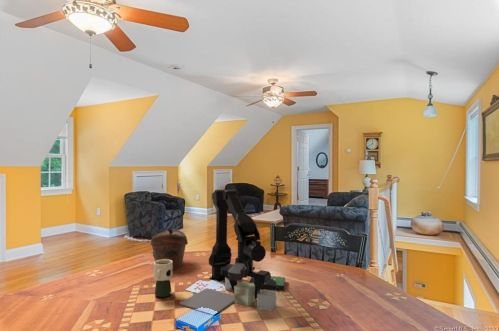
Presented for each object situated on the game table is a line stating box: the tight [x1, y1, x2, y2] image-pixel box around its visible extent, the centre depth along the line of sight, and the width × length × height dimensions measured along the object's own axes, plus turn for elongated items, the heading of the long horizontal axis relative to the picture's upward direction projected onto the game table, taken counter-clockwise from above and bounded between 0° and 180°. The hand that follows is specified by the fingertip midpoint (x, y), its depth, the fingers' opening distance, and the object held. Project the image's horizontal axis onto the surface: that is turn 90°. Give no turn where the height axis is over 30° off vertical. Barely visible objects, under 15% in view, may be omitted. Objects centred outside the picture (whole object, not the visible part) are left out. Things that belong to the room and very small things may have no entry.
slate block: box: [256, 289, 277, 312], centre depth 112 cm, size 5×5×5 cm
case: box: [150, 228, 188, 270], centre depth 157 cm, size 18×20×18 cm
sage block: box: [233, 280, 257, 307], centre depth 116 cm, size 6×6×6 cm
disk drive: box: [248, 275, 286, 292], centre depth 132 cm, size 10×3×15 cm
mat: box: [178, 287, 235, 313], centre depth 116 cm, size 16×16×1 cm
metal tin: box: [224, 278, 233, 292], centre depth 128 cm, size 5×5×6 cm
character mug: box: [153, 259, 174, 298], centre depth 121 cm, size 11×7×13 cm, turn 174°
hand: (245, 296), depth 116 cm, fingers open, 9 cm apart
